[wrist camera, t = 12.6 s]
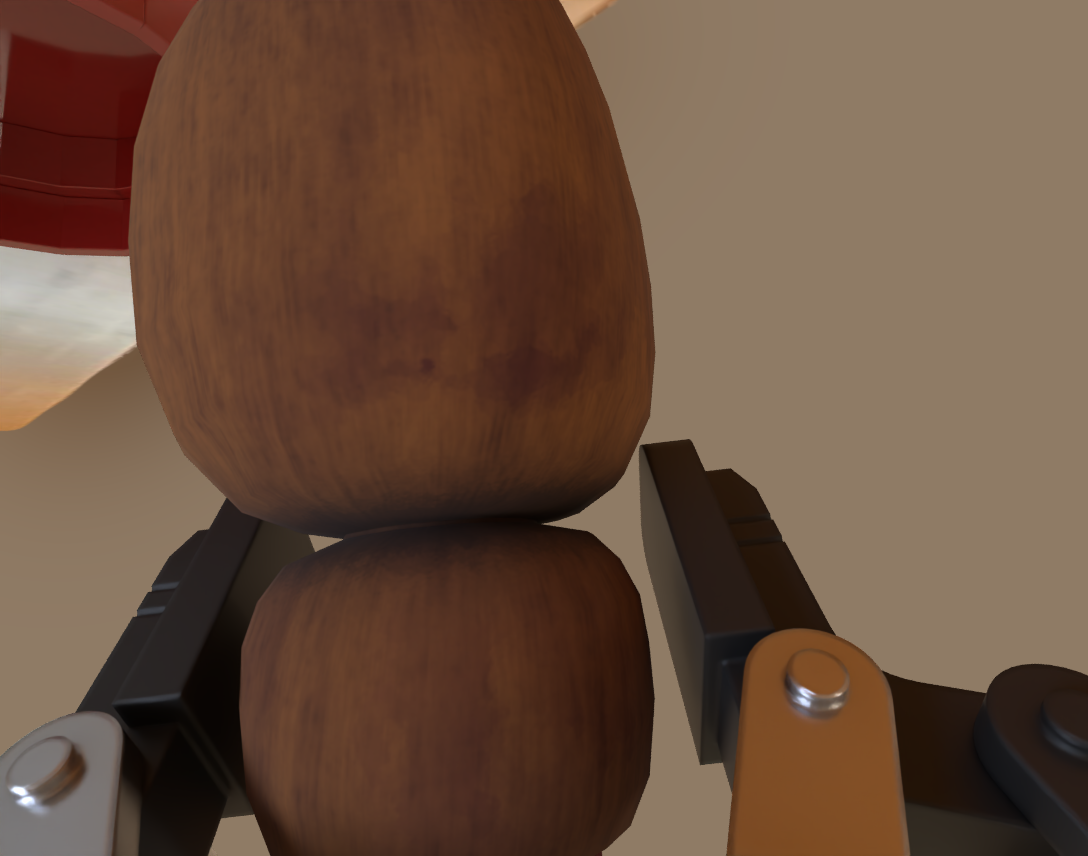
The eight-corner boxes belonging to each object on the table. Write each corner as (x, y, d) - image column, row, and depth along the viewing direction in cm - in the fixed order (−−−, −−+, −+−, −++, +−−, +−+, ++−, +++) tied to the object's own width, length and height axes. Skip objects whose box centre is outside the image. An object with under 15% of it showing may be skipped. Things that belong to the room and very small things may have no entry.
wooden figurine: (641, 102, 12) (800, 1064, 9) (372, 191, 14) (424, 1021, 11) (489, -375, 6) (844, 2306, 3) (34, -101, 8) (-90, 1701, 4)
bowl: (-5, 164, 30) (-15, 275, 29) (-574, -235, 15) (-643, -42, 14) (324, 120, 30) (328, 231, 28) (66, -335, 15) (51, -144, 14)
